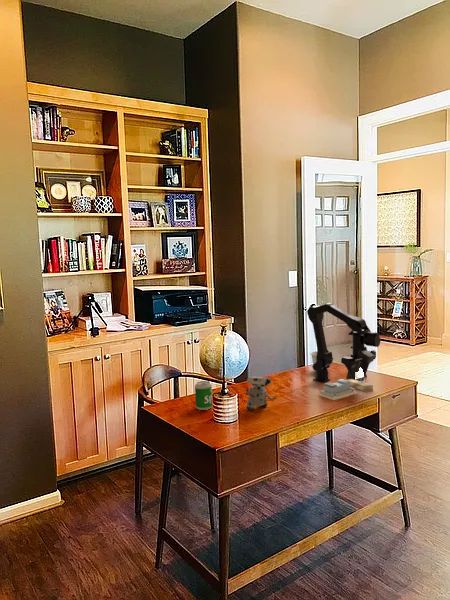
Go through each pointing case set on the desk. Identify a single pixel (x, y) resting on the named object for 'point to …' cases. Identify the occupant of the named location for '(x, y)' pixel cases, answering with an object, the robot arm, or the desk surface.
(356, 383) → the tan rectangular bar
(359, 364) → the phone stand
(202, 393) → the soda can
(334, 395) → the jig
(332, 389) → the light blue block
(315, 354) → the teacup
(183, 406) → the desk surface
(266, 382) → the figurine
